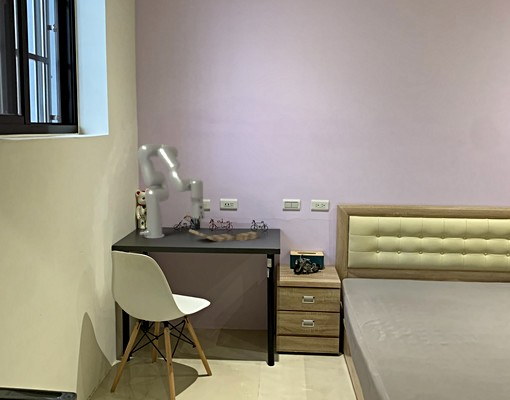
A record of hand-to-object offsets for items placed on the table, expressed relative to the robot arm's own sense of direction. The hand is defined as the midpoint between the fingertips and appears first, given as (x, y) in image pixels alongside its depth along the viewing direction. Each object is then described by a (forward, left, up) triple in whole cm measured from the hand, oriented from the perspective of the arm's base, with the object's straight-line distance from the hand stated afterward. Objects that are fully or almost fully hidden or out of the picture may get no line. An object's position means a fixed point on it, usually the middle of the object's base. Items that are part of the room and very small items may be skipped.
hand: (197, 229), depth 354 cm
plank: (+4, 0, -5) cm, 6 cm away
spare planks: (+32, -8, -8) cm, 34 cm away
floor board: (+18, 0, -8) cm, 20 cm away
